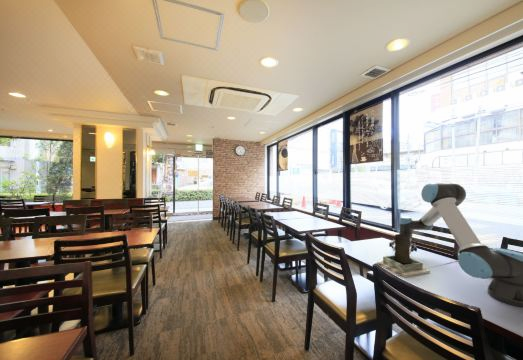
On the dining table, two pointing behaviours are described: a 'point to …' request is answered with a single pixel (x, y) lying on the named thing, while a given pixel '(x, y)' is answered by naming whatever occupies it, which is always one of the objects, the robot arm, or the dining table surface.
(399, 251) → the container
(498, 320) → the dining table surface
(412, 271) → the collar board
